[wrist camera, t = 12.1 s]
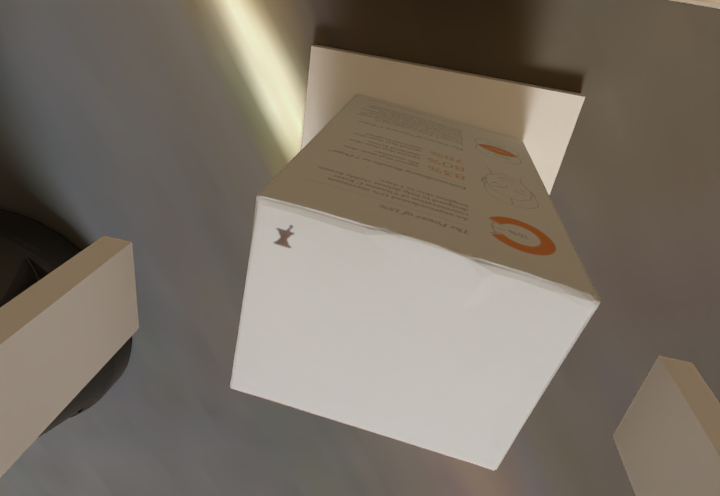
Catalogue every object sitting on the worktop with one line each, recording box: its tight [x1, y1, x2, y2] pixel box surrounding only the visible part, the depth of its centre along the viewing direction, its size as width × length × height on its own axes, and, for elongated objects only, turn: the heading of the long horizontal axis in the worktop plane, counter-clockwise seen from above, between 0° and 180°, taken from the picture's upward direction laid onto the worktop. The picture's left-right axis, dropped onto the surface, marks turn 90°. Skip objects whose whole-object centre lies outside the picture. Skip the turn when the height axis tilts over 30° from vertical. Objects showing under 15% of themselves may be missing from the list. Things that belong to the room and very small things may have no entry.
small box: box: [230, 94, 600, 470], centre depth 18 cm, size 8×6×13 cm
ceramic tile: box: [301, 45, 585, 195], centre depth 24 cm, size 12×10×1 cm
